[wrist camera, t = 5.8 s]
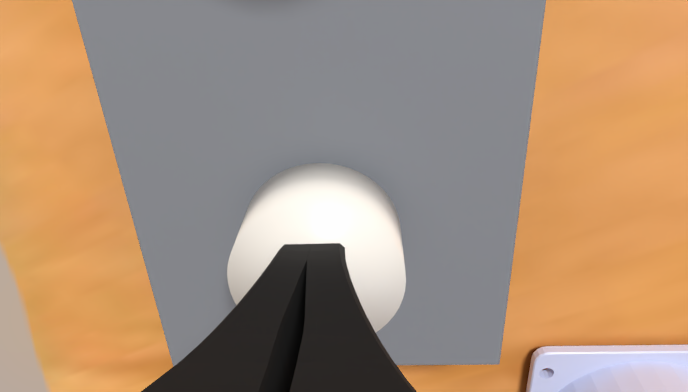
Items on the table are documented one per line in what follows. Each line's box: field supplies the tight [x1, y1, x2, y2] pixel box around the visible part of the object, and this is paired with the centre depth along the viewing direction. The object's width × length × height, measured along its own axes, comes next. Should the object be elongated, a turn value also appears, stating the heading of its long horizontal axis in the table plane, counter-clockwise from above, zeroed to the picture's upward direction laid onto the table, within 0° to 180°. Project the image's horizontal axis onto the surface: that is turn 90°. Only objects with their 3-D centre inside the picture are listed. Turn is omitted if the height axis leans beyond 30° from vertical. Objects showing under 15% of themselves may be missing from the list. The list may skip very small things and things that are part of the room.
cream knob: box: [227, 163, 406, 333], centre depth 14 cm, size 4×4×5 cm
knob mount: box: [72, 0, 546, 366], centre depth 13 cm, size 20×10×3 cm, turn 3°
